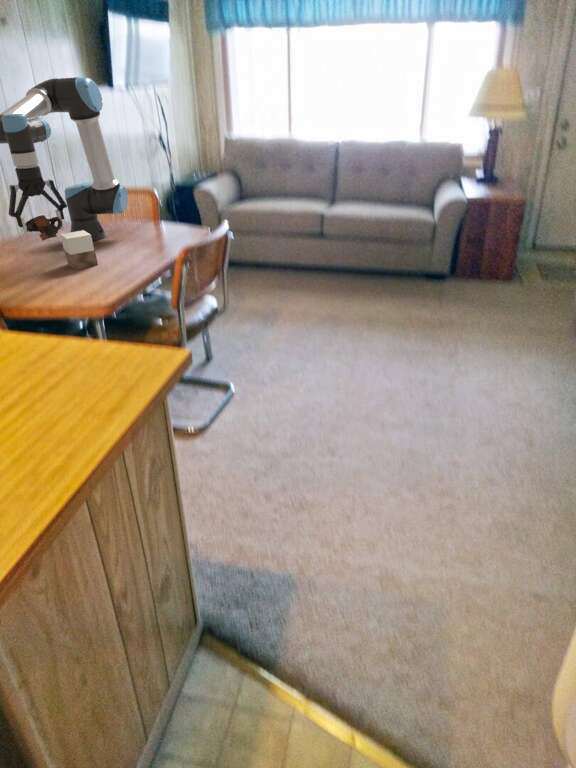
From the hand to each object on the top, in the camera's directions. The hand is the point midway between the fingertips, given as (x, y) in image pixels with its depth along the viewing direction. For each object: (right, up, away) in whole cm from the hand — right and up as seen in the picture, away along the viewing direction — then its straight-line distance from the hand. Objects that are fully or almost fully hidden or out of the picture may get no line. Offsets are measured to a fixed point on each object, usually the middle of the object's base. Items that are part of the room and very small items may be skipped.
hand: (44, 232), depth 190 cm
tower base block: (+4, -6, +24) cm, 25 cm away
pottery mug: (+1, -2, 0) cm, 2 cm away
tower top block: (+4, -1, +21) cm, 21 cm away
